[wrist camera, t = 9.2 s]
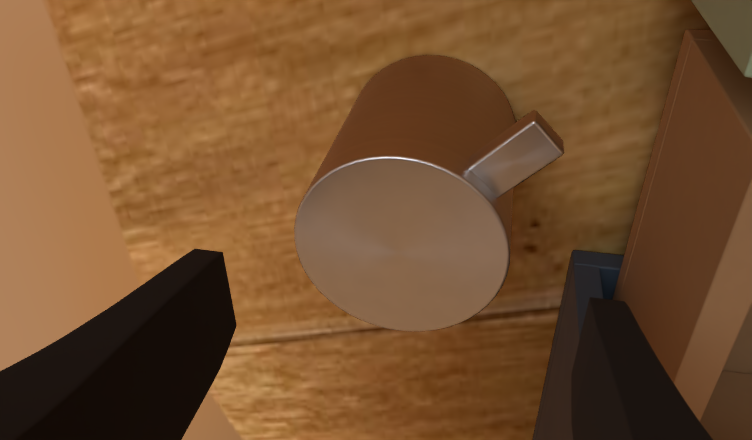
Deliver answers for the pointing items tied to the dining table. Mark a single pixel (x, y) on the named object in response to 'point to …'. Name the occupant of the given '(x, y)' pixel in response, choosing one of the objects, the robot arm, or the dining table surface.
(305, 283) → the dining table surface
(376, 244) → the measuring cup
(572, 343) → the cabinet
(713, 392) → the drawer
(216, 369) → the robot arm
